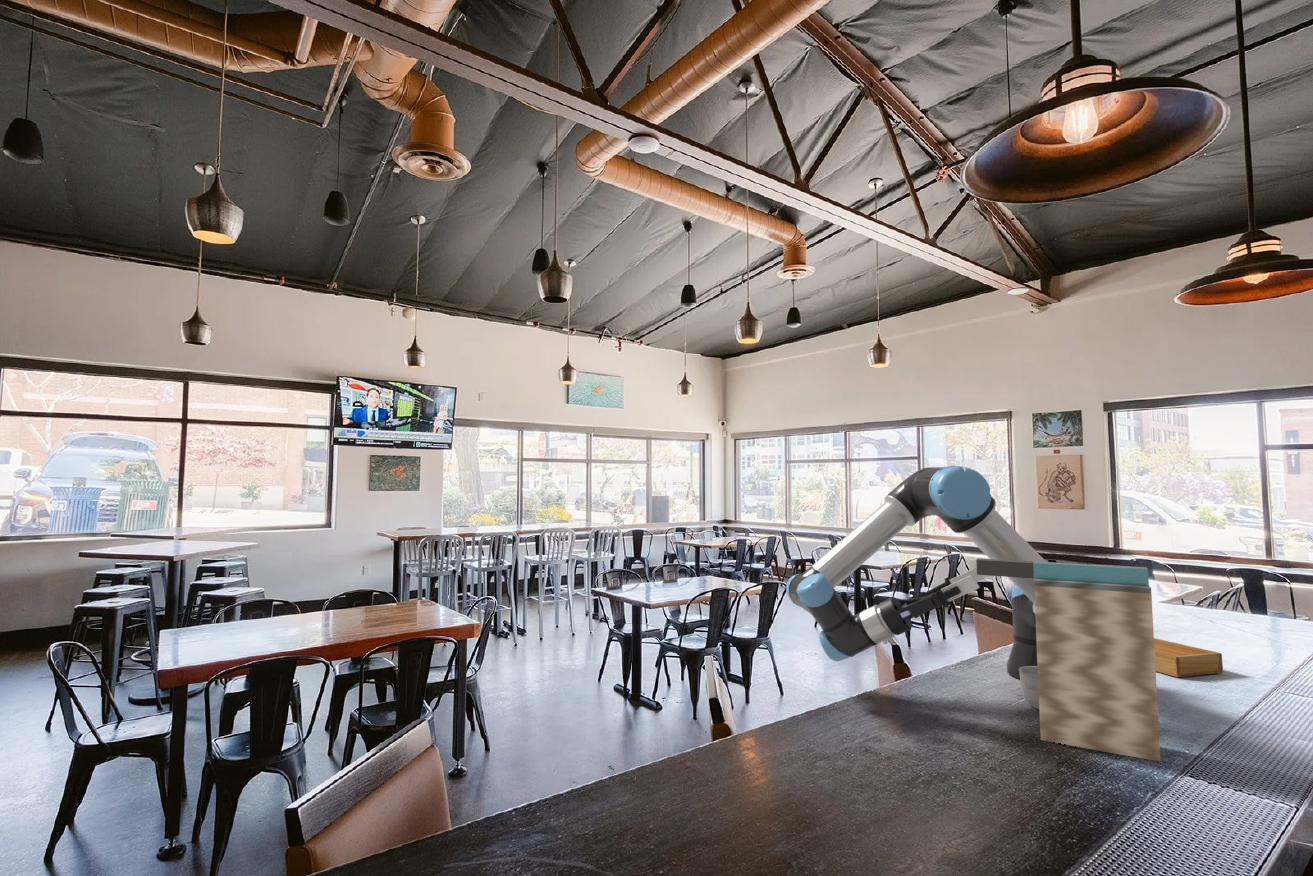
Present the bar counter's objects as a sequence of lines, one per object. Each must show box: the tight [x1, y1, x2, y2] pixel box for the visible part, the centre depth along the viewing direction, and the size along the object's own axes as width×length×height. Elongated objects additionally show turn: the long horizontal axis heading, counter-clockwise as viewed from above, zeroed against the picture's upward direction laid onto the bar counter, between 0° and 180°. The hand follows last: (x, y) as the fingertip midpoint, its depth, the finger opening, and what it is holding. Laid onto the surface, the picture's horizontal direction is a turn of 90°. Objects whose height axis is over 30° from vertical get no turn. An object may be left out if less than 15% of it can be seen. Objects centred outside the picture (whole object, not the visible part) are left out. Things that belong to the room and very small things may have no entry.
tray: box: [1154, 637, 1224, 678], centre depth 175 cm, size 31×15×6 cm, turn 14°
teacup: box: [1019, 666, 1039, 710], centre depth 138 cm, size 14×11×8 cm
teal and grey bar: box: [976, 557, 1150, 586], centre depth 124 cm, size 28×3×3 cm, turn 59°
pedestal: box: [1034, 579, 1162, 762], centre depth 121 cm, size 18×8×30 cm, turn 59°
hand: (978, 576), depth 131 cm, fingers open, 13 cm apart
